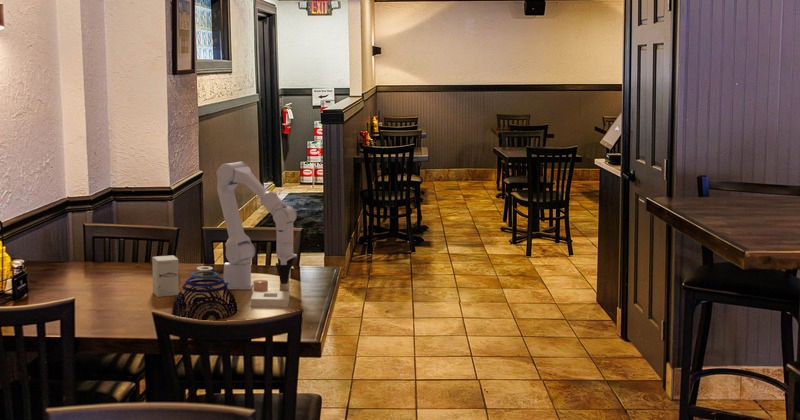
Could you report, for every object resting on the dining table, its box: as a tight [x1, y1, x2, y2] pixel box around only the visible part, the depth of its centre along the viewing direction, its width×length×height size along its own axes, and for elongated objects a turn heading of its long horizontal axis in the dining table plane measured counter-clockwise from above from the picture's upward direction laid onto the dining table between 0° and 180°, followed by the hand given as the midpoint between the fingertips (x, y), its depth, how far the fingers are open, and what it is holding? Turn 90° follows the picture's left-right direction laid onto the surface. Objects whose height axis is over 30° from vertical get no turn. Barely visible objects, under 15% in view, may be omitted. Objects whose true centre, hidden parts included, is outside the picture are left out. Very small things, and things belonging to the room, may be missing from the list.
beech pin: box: [279, 276, 290, 291], centre depth 297 cm, size 3×3×8 cm
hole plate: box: [250, 290, 291, 308], centre depth 287 cm, size 12×10×2 cm
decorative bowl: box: [171, 265, 239, 321], centre depth 273 cm, size 20×20×14 cm
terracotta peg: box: [252, 279, 269, 292], centre depth 294 cm, size 5×5×5 cm
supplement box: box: [151, 254, 180, 298], centre depth 292 cm, size 7×7×13 cm
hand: (284, 280), depth 297 cm, fingers open, 7 cm apart
